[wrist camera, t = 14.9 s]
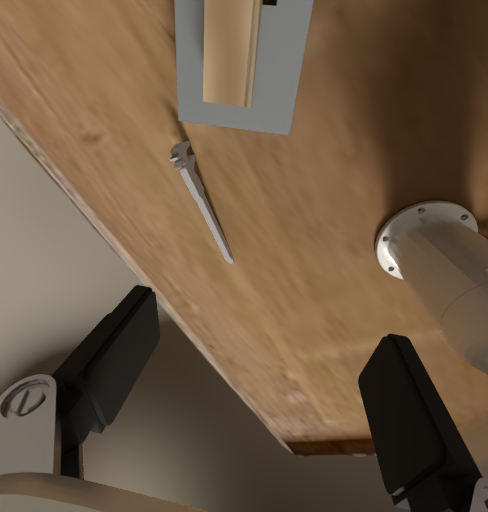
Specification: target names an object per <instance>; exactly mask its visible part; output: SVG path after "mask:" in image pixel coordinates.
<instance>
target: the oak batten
mask: <svg viewBox="0 0 488 512" xmlns="http://www.w3.org/2000/svg"><path fill="white" fill-rule="evenodd" d="M262 4H263V0H205V6H204V71H203V102H210V103H217V104H225V105H233V106H241V107H249V108H252V98H253V89H254V79H255V70H256V60H257V51H258V42H259V32H260V23H261V13H262Z"/></svg>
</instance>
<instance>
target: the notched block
mask: <svg viewBox="0 0 488 512" xmlns="http://www.w3.org/2000/svg"><path fill="white" fill-rule="evenodd" d="M313 2H314V0H277V5H276V6H271V5H262V13H261V23H260V32H259V42H258V51H257V60H256V70H255V79H254V89H253V98H252V108H249V107H241V106H233V105H225V104H217V103H210V102H203V71H204V6H205V0H174V3H175V34H176V64H177V95H178V121H184V122H192V123H199V124H207V125H214V126H222V127H229V128H237V129H245V130H252V131H260V132H267V133H275V134H283V135H289V133H290V127H291V122H292V116H293V111H294V105H295V100H296V94H297V89H298V83H299V78H300V73H301V67H302V62H303V56H304V51H305V45H306V40H307V34H308V29H309V23H310V18H311V13H312V7H313Z"/></svg>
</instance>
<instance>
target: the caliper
mask: <svg viewBox="0 0 488 512" xmlns="http://www.w3.org/2000/svg"><path fill="white" fill-rule="evenodd" d="M189 146H190V142H189V141H185V142H182V143H179V144H176V145H174V147H173V148H172V150H171V151H170V152H171V154H172V157H171V159H170V161H175V170H176V169H179V168H180V169H179V171H180V173H181V175H182V177H183V179H184V181H185V183H186V185H187V187H188V188H189V190H190V192H191V194H192V196H193V198H194V200H195V199H196V201H197V203H198V205H199V207H200V209H201V211H202V213H203V216H204V218H205V220H206V222H207V224H208V226H209V228H210V230H211V232H212V234H213V236H214V238H215V240H216V242H217V244H218V246H219V248H220V250H221V252H222V254H223V256H224V258H225V260H226V261H228V263H229V264H230V263H235V262H234V259H233V257H232V254H231V251H230V248H229V246H228V244H227V242H226V240H225V238H224V235H223V233H222V231H221V229H220V227H219V225H218V223H217V220H216V218H215V216H214V214H213V212H212V210H211V207H210V205H209V203H208V201H207V199H206V197H205V195H204V187H203V186H202V184H201V181H200V179H199V177H198V176H197V174H196V173H195V171H194V166H195V159H196V157H195V154H191V155H189V156H188V157H187V156H186V154H185V152H186V151H187V149H188V147H189Z"/></svg>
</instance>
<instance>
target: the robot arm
mask: <svg viewBox="0 0 488 512" xmlns="http://www.w3.org/2000/svg"><path fill="white" fill-rule="evenodd" d="M418 209H419V210H418ZM384 236H385V237H384ZM375 254H376V258H377V260H378V262H379V264H380V265H381V267H382V268H383V269H384V270H385V271H386V272H387V273H389V274H390V275H392V276H394V277H397V278H400V279H404V280H405V282H406V283H407V285H408V286H409V288H410V289H411V291H412V292H413V293H414V295H415V296H416V298H417V299H418V301H419V302H420V303H421V305H422V306H423V308H424V309H425V311H426V312H427V314H428V315H429V316H430V318H431V319H432V321H433V322H434V324H435V325H436V327H437V328H438V329H439V331H440V332H441V334H442V335H443V337H444V338H445V339H446V341H447V342H448V344H449V345H450V346H451V348H452V349H453V350H454V351H455V353H456V354H457V355H458V356H459V357H460V358H462V359H463V360H464V361H465V362H467V363H468V364H469V365H471V366H472V367H474V368H476V369H478V370H480V371H481V372H483V373H486V374H488V239H486V238H485V237H483V236H482V235H480V234H479V233H478V226H477V222H476V220H475V218H474V217H473V215H472V214H471V213H470V212H469V211H468V210H466V209H465V208H463V207H462V206H460V205H458V204H455V203H452V202H449V201H442V200H434V201H426V202H420V203H417V204H414V205H411V206H409V207H407V208H405V209H403V210H401V211H400V212H398V213H397V214H395V215H394V216H393V217H392V218H391V219H390V220H388V221H387V222H386V223H385V225H384V226H383V227H382V229H381V230H380V232H379V234H378V236H377V239H376V243H375ZM159 338H160V329H159V320H158V311H157V303H156V294H155V292H152V289H151V288H150V287H145V286H139V285H137V286H135V287H134V288H133V289H132V290H131V291H130V293H128V295H127V296H126V297H125V298H124V299H123V300H122V301H121V303H120V304H119V305H118V306H117V307H116V308H115V309H114V310H113V311H112V313H109V314H107V315H106V316H105V317H104V318H103V319H102V320H101V321H100V323H99V324H98V325H97V326H96V327H95V328H94V329H93V330H92V332H91V333H90V334H89V335H88V336H87V337H86V338H85V339H84V340H83V341H82V342H81V344H80V345H79V346H78V347H77V348H76V349H75V350H74V351H73V352H72V354H71V355H70V356H69V357H68V358H67V359H66V360H65V361H64V362H63V364H62V365H61V366H60V367H59V368H58V369H57V370H56V371H55V372H54V373H53V374H52V376H48V375H35V376H30V377H28V378H25V379H23V380H21V381H19V382H17V383H16V384H14V385H13V386H11V387H10V388H9V389H7V390H6V391H5V392H4V393H3V394H2V395H1V397H0V512H208V511H204V510H200V509H196V508H193V507H189V506H185V505H181V504H177V503H173V502H170V501H166V500H162V499H158V498H154V497H150V496H146V495H143V494H138V493H134V492H131V491H127V490H123V489H119V488H115V487H111V486H107V485H103V484H98V483H94V482H90V481H86V480H84V466H83V442H84V440H85V439H86V437H87V436H88V434H89V432H90V431H93V432H97V433H102V432H103V430H104V428H105V427H106V425H110V424H111V423H112V422H113V421H114V419H115V417H116V416H117V414H118V412H119V410H120V409H121V407H122V405H123V403H124V402H125V400H126V398H127V396H128V395H129V393H130V391H131V389H132V387H133V386H134V384H135V382H136V380H137V379H138V377H139V375H140V373H141V372H142V370H143V368H144V366H145V365H146V363H147V361H148V359H149V357H150V356H151V354H152V352H153V351H154V349H155V347H156V345H157V344H158V341H159ZM358 384H359V388H360V392H361V396H362V400H363V404H364V408H365V412H366V415H367V419H368V423H369V427H370V431H371V435H372V439H373V443H374V446H375V450H376V454H377V458H378V462H379V466H380V470H381V474H382V477H383V481H384V485H385V488H386V490H387V492H388V493H389V494H391V496H392V499H393V503H394V506H396V507H400V508H403V509H408V510H411V512H488V413H486V414H484V415H482V416H480V417H478V418H476V419H474V420H471V421H469V422H467V423H465V424H463V425H461V426H459V427H456V426H455V424H454V422H453V420H452V418H451V416H450V414H449V412H448V411H447V409H446V407H445V405H444V403H443V401H442V399H441V397H440V396H439V394H438V392H437V390H436V388H435V386H434V384H433V383H432V381H431V379H430V377H429V375H428V373H427V371H426V369H425V368H424V366H423V364H422V362H421V360H420V358H419V356H418V354H417V353H416V351H415V349H414V347H413V345H412V343H411V341H410V340H409V338H407V337H405V336H400V335H395V334H388V336H387V337H385V336H384V337H383V338H382V339H381V341H380V343H379V344H378V346H377V348H376V349H375V351H374V353H373V354H372V356H371V358H370V359H369V361H368V362H367V364H366V366H365V367H364V369H363V371H362V372H361V374H360V376H359V380H358Z"/></svg>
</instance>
